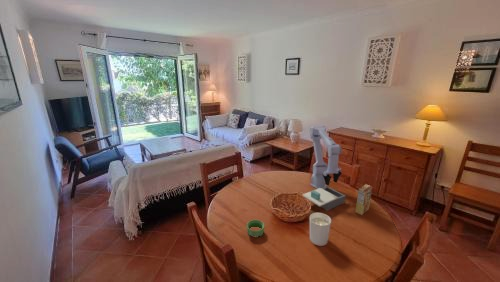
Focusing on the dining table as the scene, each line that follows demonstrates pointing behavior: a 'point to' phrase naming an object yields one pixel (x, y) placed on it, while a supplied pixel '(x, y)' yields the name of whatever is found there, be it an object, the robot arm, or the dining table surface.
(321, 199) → the lid
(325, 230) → the candle holder
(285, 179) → the dining table surface
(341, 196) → the grey open box
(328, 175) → the robot arm
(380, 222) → the dining table surface
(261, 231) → the green ring
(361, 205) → the candy box
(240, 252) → the dining table surface
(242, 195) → the dining table surface
